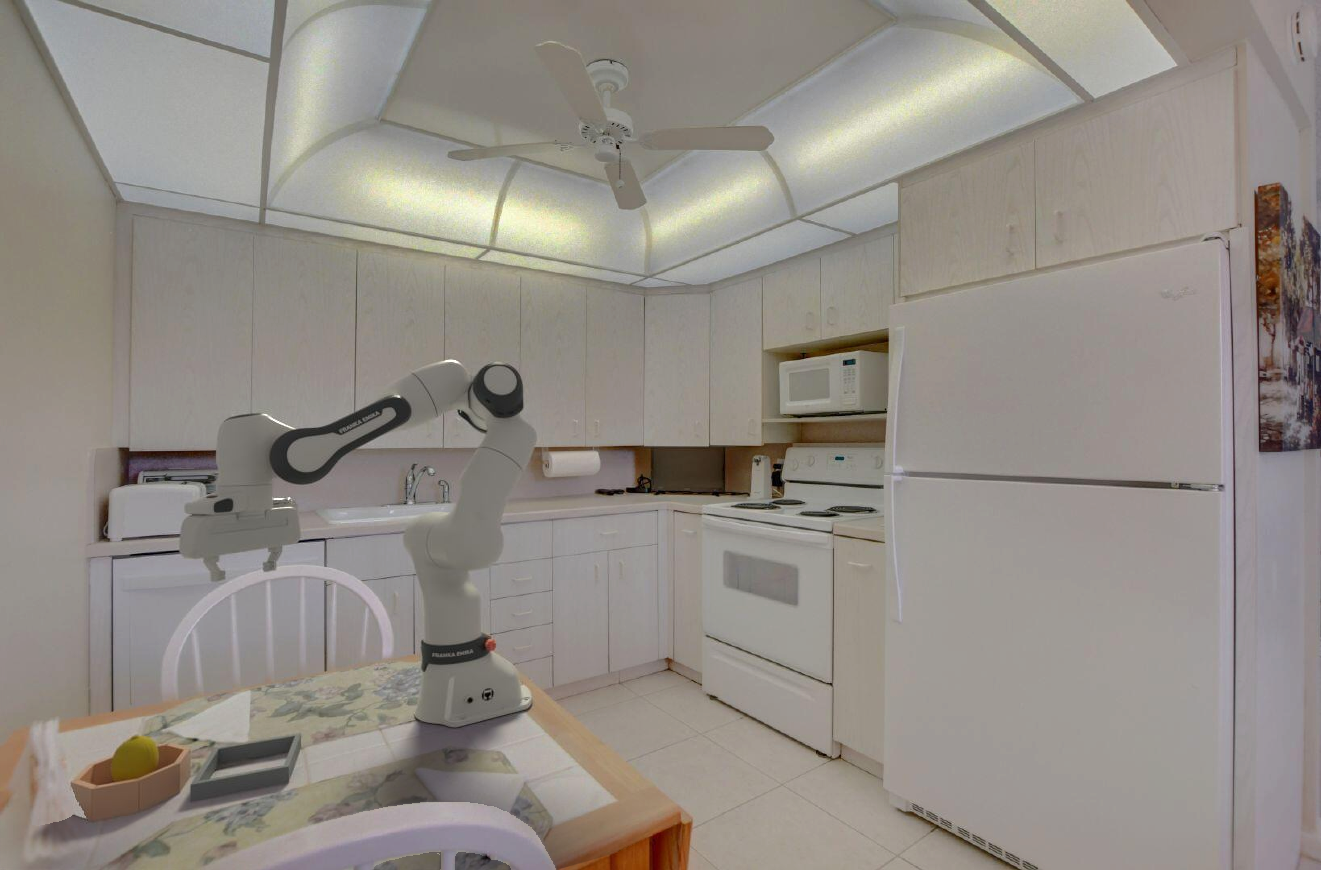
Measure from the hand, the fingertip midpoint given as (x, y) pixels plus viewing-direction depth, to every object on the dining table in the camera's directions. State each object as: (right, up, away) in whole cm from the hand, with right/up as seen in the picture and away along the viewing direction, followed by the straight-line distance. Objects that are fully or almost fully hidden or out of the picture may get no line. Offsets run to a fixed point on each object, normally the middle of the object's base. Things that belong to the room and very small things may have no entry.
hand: (244, 575), depth 113 cm
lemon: (-3, -28, -20) cm, 34 cm away
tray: (+10, -29, -14) cm, 33 cm away
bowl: (-3, -29, -20) cm, 35 cm away
